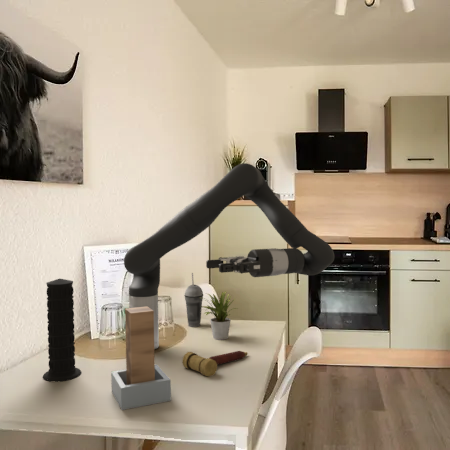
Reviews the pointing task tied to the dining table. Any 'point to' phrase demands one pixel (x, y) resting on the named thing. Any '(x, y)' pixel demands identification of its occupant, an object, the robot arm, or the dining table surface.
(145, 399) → the box
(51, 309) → the handle grip
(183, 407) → the dining table surface
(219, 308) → the house plant
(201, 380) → the dining table surface
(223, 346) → the dining table surface
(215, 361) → the gavel
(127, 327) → the walnut handle block
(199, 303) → the beverage cup
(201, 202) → the robot arm
